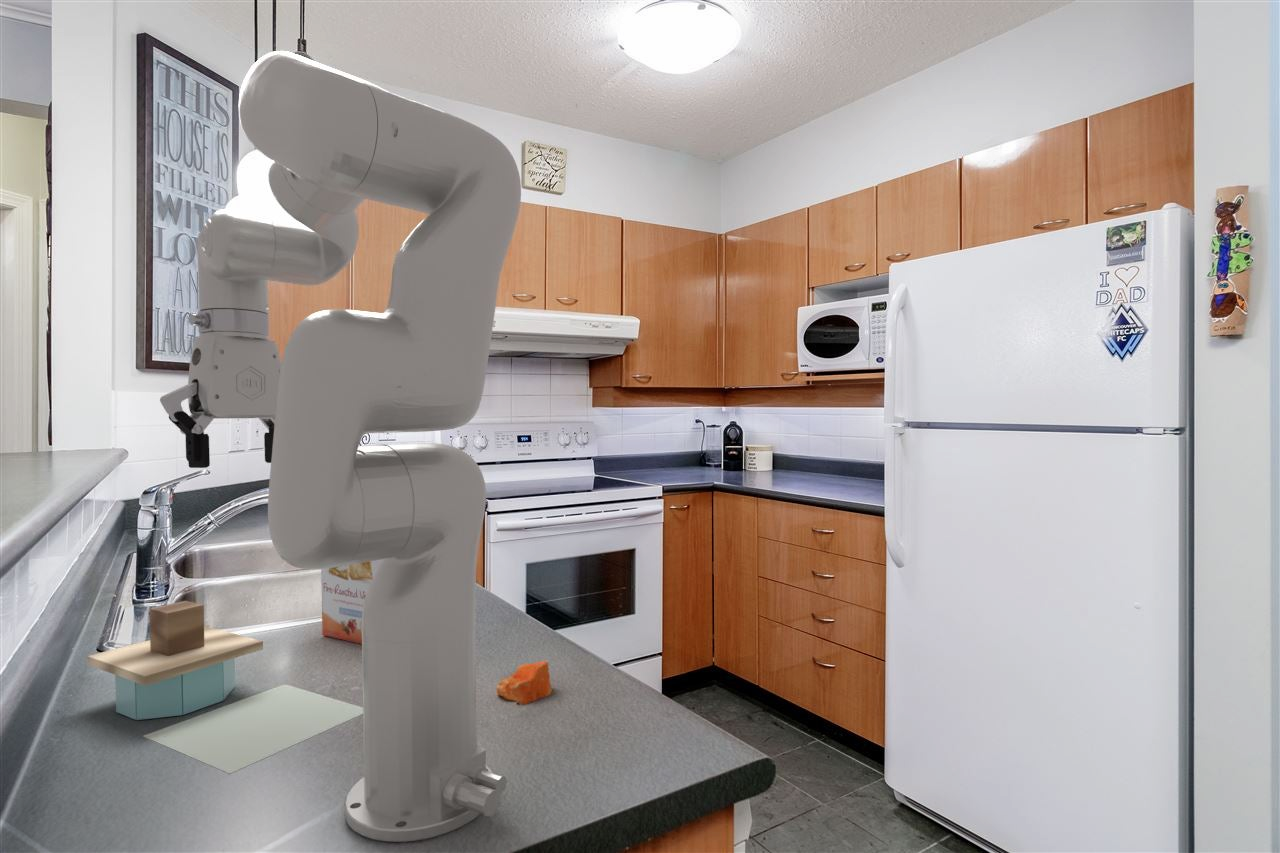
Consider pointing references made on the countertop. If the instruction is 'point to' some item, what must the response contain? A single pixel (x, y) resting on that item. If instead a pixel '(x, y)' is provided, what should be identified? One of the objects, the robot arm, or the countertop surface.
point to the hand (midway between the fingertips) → (238, 465)
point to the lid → (174, 646)
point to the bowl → (175, 692)
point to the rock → (526, 683)
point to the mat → (255, 727)
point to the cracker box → (345, 599)
